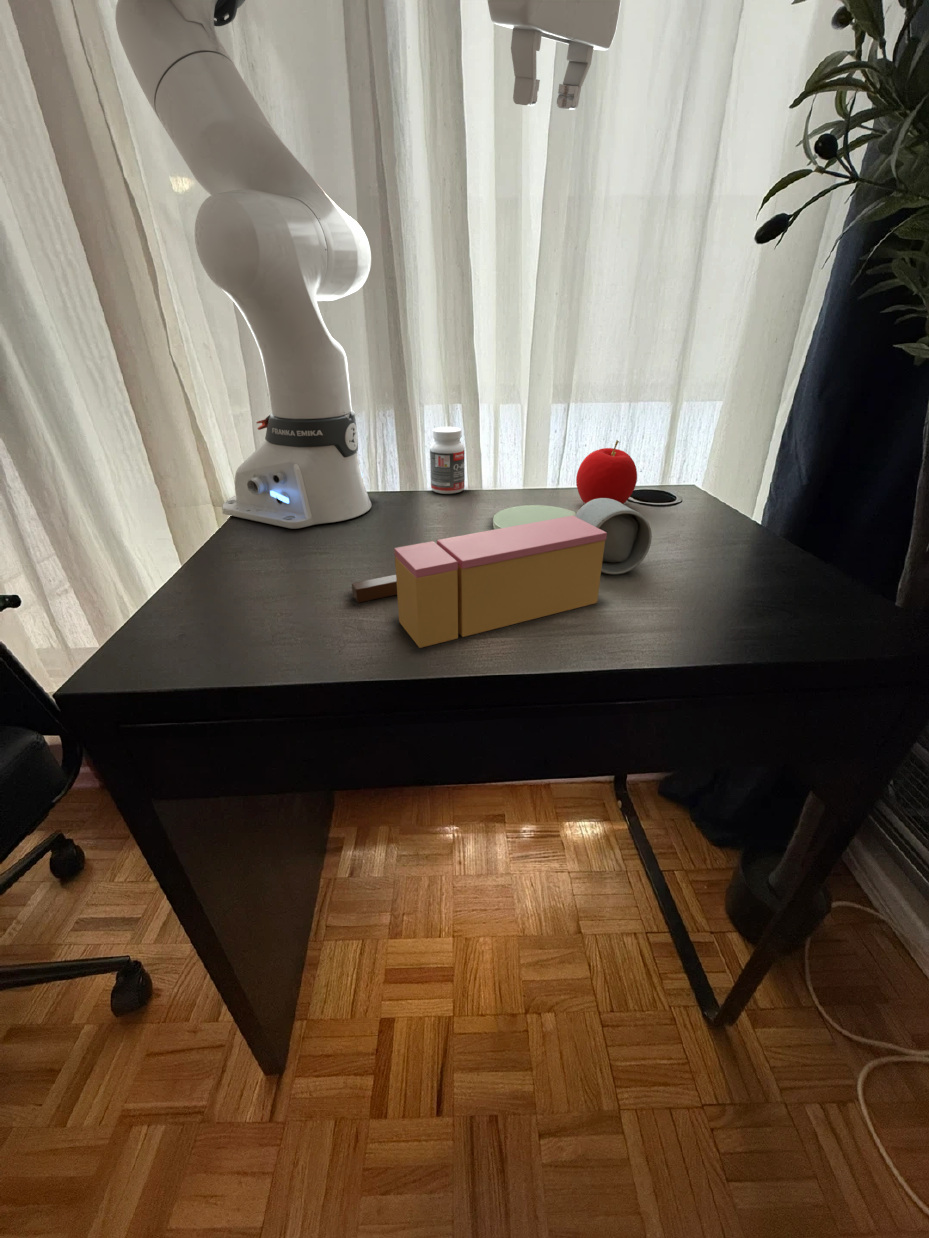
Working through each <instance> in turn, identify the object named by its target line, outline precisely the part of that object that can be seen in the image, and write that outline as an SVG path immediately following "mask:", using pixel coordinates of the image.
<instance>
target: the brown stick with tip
mask: <svg viewBox="0 0 929 1238" xmlns="http://www.w3.org/2000/svg"><path fill="white" fill-rule="evenodd" d="M351 592H352V597H353V598H354V600H355V601H356V603H358V604H360V603H363V602H368V601H373V600H377V599H383V598H387V597H391V596H396V595H397V581H396V574H391V575H386V576H381V577H377V578H371V579H366V580H361V581H356V582H351Z"/></svg>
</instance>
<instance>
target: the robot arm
mask: <svg viewBox="0 0 929 1238" xmlns="http://www.w3.org/2000/svg"><path fill="white" fill-rule="evenodd" d="M245 2H246V0H117V3H116V6H115V15H114V16H115V17H114V18H115V19H114V21H115V26H116V31H117V35H118V38H119V41H120V44H121V46H122V49H123V52H124V53H125V56H126V58H127V61H128V63H129V65H130V67H131V70H132V72H133V74H134V76H135V79H136V80H137V82H138V85H139V86H140V88H141V91H142V92H143V94H144V96H145V98H146V100H147V101H148V103H149V105H150V106H151V108H152V110H153V111H154V114H155V115H156V117H157V119H158V120H159V122H160V123H161V125H162V126H163V128H164V130H165V131H166V133H167V134H168V136H169V138H170V139H171V141H172V143H173V145H174V146H175V148H176V150H177V151H178V152H179V154H180V156H181V157H182V159H183V161H184V163H185V164H186V166H187V167H188V169H189V170H190V172H191V174H192V175H193V177H194V179H195V180H196V181H197V183H198V184H199V185H200V186H201V187H202V188H203V190H205V191H206V193H208V194H209V196H208V197H206V198H205V199H204V200H203V202H202V203H201V205H200V207H199V209H198V211H197V213H196V217H195V222H194V243H195V244H194V245H195V249H196V253H197V256H198V258H199V262H200V263H201V266H202V268H203V269H204V271H205V273H206V275H207V276H208V277H209V279H210V280H211V281H212V283H213V284H215V285H216V286H217V287H218V288H219V289H220V290H222V291H223V292H224V294H226V296H228V297H229V299H230V300H231V301H232V302H233V303H234V305H235V306H236V307H237V308H238V310H239V311H240V313H241V315H242V317H243V318H244V320H245V322H246V324H247V326H248V328H249V329H250V332H251V333H252V336H253V338H254V340H255V343H256V346H257V349H258V352H259V354H260V358H261V361H262V366H263V370H264V375H265V380H266V386H267V391H268V397H269V403H270V407H271V408H270V409H271V414H269V415H268V416H266V417H265V418H264V419H261V420H258V421H256V424H261V425H259V426H258V427H257V430H258V431H261V430H265V429H266V431H265V437H264V440H265V441H264V442H263V443H261V445H260V446H259V447H257V449H256V450H254V452H253V453H252V454H250V456H248V457H247V458H246V459H245V460H244V461H243V462H242V463H241V464H240V465H239V466H238V467H237V469H236V471H235V475H234V493H235V495H234V496H232V497H231V498H229V499H228V500H226V501H225V502H223V504H222V507H221V512H222V514H223V515H226V516H231V517H235V518H236V517H237V518H240V519H244V520H250V521H252V522H253V521H254V522H259V523H263V524H266V525H267V524H268V525H272V526H278V527H282V528H287V529H291V530H294V529H295V530H296V529H303V528H307V527H311V526H315V525H322V524H329V523H336V522H342V521H347V520H350V519H355V518H357V517H359V516H361V515H364V514H365V513H367V512H368V511H369V510H371V508H372V502H371V499H370V497H369V494H368V491H367V488H366V485H365V481H364V478H363V472H362V470H361V465H360V460H359V456H358V452H359V435H358V428H357V427H358V426H357V418H356V412H355V411H354V410H353V408H352V398H351V397H352V396H351V387H350V376H349V365H348V357H347V354H346V352H345V350H344V347H343V346H342V345H341V344H340V342H339V341H337V340H336V339H335V338H333V337H332V334H331V333H330V331H329V330H328V328H327V326H326V323H325V322H324V319H323V316H322V314H321V311H320V308H319V304H318V302H323V301H324V302H330V301H336V300H338V299H339V300H340V299H342V298H344V297H347V296H349V295H351V294H354V293H356V292H358V291H359V290H360V289H361V288H362V287H363V286H364V285H365V283H366V282H367V280H368V277H369V274H370V270H371V266H372V253H371V252H372V251H371V246H370V243H369V239H368V237H367V235H366V233H365V231H364V229H363V228H362V226H361V225H360V224H359V223H358V222H357V221H356V220H355V219H354V218H352V217H351V216H350V215H348V214H347V213H346V212H345V211H344V210H343V209H342V208H340V207H339V206H338V205H337V204H336V203H335V201H334V200H332V199H331V197H330V196H329V195H328V194H327V193H326V192H325V191H324V189H323V188H322V187H321V186H320V185H319V183H318V182H317V181H316V180H315V178H314V177H312V175H311V174H310V173H309V171H307V169H306V168H305V167H304V165H302V163H301V162H300V161H299V160H298V159H297V158H296V156H295V155H294V154H293V153H292V152H291V151H290V149H289V148H288V147H287V146H286V145H285V143H284V142H283V141H282V139H281V138H280V136H279V135H278V134H277V132H276V131H275V130H274V128H273V126H272V125H271V123H270V122H269V121H268V119H267V117H266V115H265V114H264V112H263V111H262V109H261V107H260V106H259V104H258V102H257V101H256V98H255V97H254V95H253V94H252V92H251V91H250V88H249V87H248V86H247V84H246V82H245V80H244V78H243V77H242V75H241V74H240V72H239V70H238V69H237V66H236V65H235V63H234V61H233V59H232V58H231V56H230V54H229V53H228V52H227V50H226V49H225V47H224V45H223V44H222V41H221V39H220V37H219V36H218V33H217V30H216V27H223V26H226V25H228V24H230V23H232V22H233V21H234V20H235V19H236V15H237V12H238V9H239V8H241V7H242V5H243V4H244V3H245ZM621 5H622V0H487V6H488V11H489V17H490V21H491V23H492V24H494V25H497V26H501V27H503V28H504V27H505V28H508V29H511V30H512V32H511V42H510V52H511V53H510V54H511V59H512V68H513V75H514V84H513V93H512V101H513V103H514V104H515V105H521V106H528V107H529V106H530V107H533V106H535V105H536V104H537V103H538V99H539V90H540V84H541V80H540V79H537V52H540V50H541V44H542V38H544V39H547V40H551V41H554V42H558V43H561V44H562V43H563V44H566V45H568V47H567V53H566V61H567V67H566V70H565V74H564V77H563V81H562V83H559V84H558V91H557V98H556V106H557V108H559V109H563V110H572V111H575V110H577V108H578V106H579V103H580V98H581V97H580V96H581V92H582V87H583V86H584V82H585V80H586V78H587V75H588V72H589V70H590V68H591V65H592V61H593V55H594V51H609V50H610V48H611V46H612V45H613V42H614V39H615V36H616V33H617V29H618V25H619V18H620V10H621ZM226 17H227V18H226Z"/></svg>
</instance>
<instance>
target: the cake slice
mask: <svg viewBox="0 0 929 1238" xmlns="http://www.w3.org/2000/svg"><path fill="white" fill-rule="evenodd" d="M393 552H394V564H395V565H394V566H395V575H396V581H397V596H396V597H397V607H398V608H397V609H398V620H399V621H398V622H399V624H400V625H401V626H402V627H403V629H404V630H405V631H406V633H407V634H408V635H409V636H410V638H411V639H412V641H414V642H415V644H416V646H417V647H418V648H419V649H422V648H426V647H430V646H433V645H437V644H441V643H446V642H449V641H453V640H457V639H458V638H459V633H458V580H457V569H458V562H457V561H456V560H455V559H454V558H453V557H451V556H450V555H449V554H448V553H447V552H445V551H444V550H443V549H442V548H441V547H440V546H438V545H437V542H435V541H434V540H431V541H426V542H421V543H415V544H409V545H403V546H398V547H394V548H393Z"/></svg>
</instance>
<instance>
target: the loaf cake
mask: <svg viewBox="0 0 929 1238" xmlns="http://www.w3.org/2000/svg"><path fill="white" fill-rule="evenodd" d="M606 537H607V532H605V531H603V530H601V529H599V528H597V527H595V526H593V525H591V524H589V523H587V522H585V521H583V520H581V519H579V518H577V517H575V516H568V517H562V518H557V519H551V520H545V521H540V522H534V523H529V524H523V525H517V526H512V527H506V528H501V529H490V530H484V531H479V532H474V533H468V534H467V533H466V534H462V535H457V536H451V537H446V538H439V539H437V540H436V544H437V545H438V546H440V547H441V548H442V549H443V550H444V551H445V552H447V553H448V554H449V555H450V556H451V557H453V558H454V559H455V560H456V561H457V562H458V569H457V580H458V635H460V636H461V638H464V637H469V636H473V635H476V634H477V635H478V634H480V633H485V632H488V631H492V630H496V629H500V628H504V627H508V626H512V625H515V624H519V623H524V622H528V621H531V620H536V619H539V618H543V617H547V616H551V615H554V614H555V615H556V614H558V613H559V614H560V613H563V612H567V611H571V610H574V609H579V608H582V607H586V606H590V605H594V604H598V599H599V593H600V583H601V575H602V572H601V569H602V561H603V553H604V545H605V540H606Z"/></svg>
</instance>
